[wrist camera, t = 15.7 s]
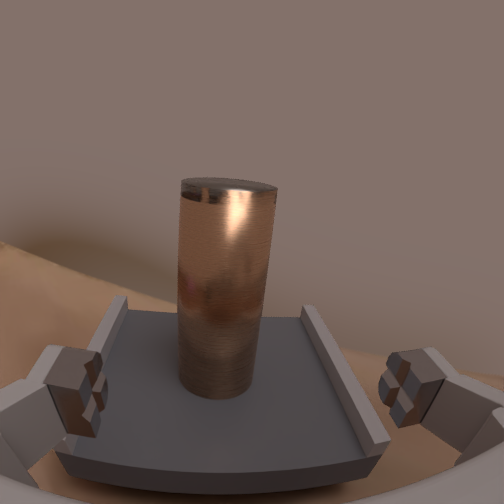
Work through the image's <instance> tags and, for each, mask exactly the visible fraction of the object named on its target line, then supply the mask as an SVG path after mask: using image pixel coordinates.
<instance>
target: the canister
mask: <svg viewBox="0 0 504 504" xmlns="http://www.w3.org/2000/svg"><path fill="white" fill-rule="evenodd" d="M277 190H278V189H277V188H276V187H274V186H271V185H268V184H264V183H259V182H253V181H247V180H239V179H228V178H188V179H184V180H182V184H181V199H180V219H179V243H178V245H179V246H178V292H177V293H178V294H177V297H178V298H177V301H178V303H177V320H178V368H179V379H180V382H181V383H182V385H183V386H184V387H185V388H186V389H187V390H188V391H189V392H191V393H192V394H194V395H196V396H199V397H202V398H205V399H211V400H226V399H231V398H234V397H237V396H239V395H241V394H243V393H244V392H246V391H247V390H248V389H249V387H250V386H251V384H252V380H253V373H254V366H255V359H256V352H257V345H258V338H259V331H260V323H261V316H262V309H263V301H264V293H265V286H266V278H267V271H268V263H269V262H268V261H269V255H270V247H271V239H272V231H273V223H274V215H275V207H276V198H277Z"/></svg>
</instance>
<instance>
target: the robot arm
mask: <svg viewBox="0 0 504 504" xmlns="http://www.w3.org/2000/svg"><path fill="white" fill-rule="evenodd" d="M386 365H387V367H388V369H387V370H386V371H385V372H384V373H383V374H382V375H381V378H380V381H379V391H378V392H379V396H380V399H381V400H382V402H383V404H385V405H387V406H388V407H390V413H389V414H390V415H391V417H392V419H393V420H394V422H395V424H396V425H397V427H398V428H402V427H407V426H411V425H415V424H419V423H421V424H420V425H422V426H423V427H425V428H426V429H427V430H429V431H430V432H432V433H433V434H435V435H436V436H437V437H439V438H440V439H442V440H443V441H445V442H446V443H448V444H449V445H451V446H452V447H454V448H455V449H456V450H458V451H459V452H461V453H462V454H461V455H460V457H459V458H458V459H457V460H456V462H455V464H454V467H452V468H450V469H448V470H445V471H443V472H441V473H438V474H436V475H433V476H431V477H428V478H426V479H423V480H420V481H418V482H415V483H412V484H409V485H406V486H403V487H400V488H397V489H394V490H391V491H388V492H384V493H381V494H378V495H374V496H370V497H367V498H363V499H359V500H355V501H350V502H346V503H342V504H504V392H503V391H501V390H498V389H496V388H494V387H491V386H489V385H487V384H485V383H482V382H480V381H478V380H475V379H473V378H471V377H468V376H466V375H464V374H462V375H460V374H459V373H458V372H457V371H456V370H455V369H454V368H453V367H452V366H451V365H450V363H449V362H447V360H446V359H445V358H444V357H443V356H442V355H441V354H440V353H439V352H438V351H437V350H436V349H435V348H433V347H426V348H420V349H416V350H410V351H402V352H394V353H392V354H391V355H390V356H389V357H388V360H387V362H386ZM102 366H103V361H102V357H101V354H100V353H99V352H97V351H90V350H84V349H77V348H71V347H64V346H59V345H53V344H50V345H48V346H47V347H46V348H45V349H44V351H43V353H42V354H41V356H40V357H39V359H38V360H37V362H36V363H35V365H34V366H33V368H32V370H31V371H30V373H29V374H28V376H27V377H26V379H25V380H24V379H19V380H17V381H15V382H13V383H11V384H9V385H7V386H6V387H4V388H2V389H0V504H92V503H88V502H83V501H79V500H75V499H71V498H68V497H64V496H61V495H57V494H54V493H51V492H47V491H44V490H41V489H39V487H38V485H37V483H36V482H35V481H34V479H33V478H32V477H31V475H30V474H29V473H28V472H27V470H28V469H29V468H31V467H32V466H33V465H34V464H35V463H36V462H37V461H39V460H40V459H41V458H42V457H43V456H44V455H46V454H47V453H48V452H49V451H50V450H51V449H52V448H54V447H55V446H56V445H57V444H58V443H59V442H60V441H62V440H63V439H64V438H65V437H66V436H67V435H68V434H73V435H79V436H84V437H90V438H96V437H97V434H98V431H99V427H100V424H101V421H102V420H101V417H100V414H99V413H100V412H101V411H103V410H104V409H105V407H106V404H107V399H108V383H107V379H106V376H105V375H104V374H103V373H102V372H101V369H102ZM67 433H68V434H67Z"/></svg>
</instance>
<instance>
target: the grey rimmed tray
mask: <svg viewBox="0 0 504 504" xmlns="http://www.w3.org/2000/svg"><path fill="white" fill-rule="evenodd" d="M86 350H90V351H97V352H99V353H100V354H101V357H102V361H103V366H102V369H101V372H102V373H103V374H104V375H105V376H106V379H107V383H108V399H107V404H106V407H105V409H104V410H103V411H101V412H100V413H99V414H100V417H101V420H102V421H101V424H100V427H99V431H98V434H97V437H96V438H90V437H84V436H79V435H73V434H68V433H67V434H68V435H67V436H66V437H65V438H64V439H63V440H62V441H60V442H59V443H58V444H57V445H56V446H55V447H54V448H53V449H54V450H55V452H56V454H57V456H58V458H59V459H60V461H61V463H62V464H63V466H64V468H65V469H66V471H67V473H68V474H69V475H70V476H74V477H78V478H82V479H86V480H91V481H95V482H100V483H105V484H111V485H116V486H122V487H129V488H136V489H143V490H152V491H161V492H173V493H188V494H253V493H269V492H281V491H290V490H299V489H307V488H314V487H320V486H326V485H332V484H337V483H343V482H348V481H352V480H357V479H361V478H366V477H367V476H368V475H369V474H370V472H371V471H372V469H373V468H374V466H375V465H376V463H377V462H378V460H379V459H380V457H381V456H382V454H383V453H384V451H385V450H386V448H387V446H388V445H389V443H390V442H391V438H390V437H389V435H388V433H387V431H386V429H385V428H384V426H383V424H382V422H381V420H380V419H379V417H378V415H377V413H376V412H375V410H374V408H373V406H372V404H371V403H370V401H369V399H368V397H367V396H366V394H365V392H364V390H363V389H362V387H361V385H360V383H359V382H358V380H357V378H356V376H355V375H354V373H353V371H352V369H351V368H350V366H349V364H348V362H347V361H346V359H345V357H344V356H343V354H342V352H341V350H340V349H339V347H338V345H337V344H336V342H335V340H334V339H333V337H332V335H331V333H330V332H329V330H328V328H327V327H326V325H325V323H324V321H323V320H322V318H321V316H320V315H319V313H318V311H317V310H316V308H315V306H314V305H303V306H302V311H301V316H300V318H298V317H296V318H294V317H261V323H260V331H259V338H258V345H257V352H256V359H255V366H254V373H253V380H252V384H251V386H250V387H249V389H248V390H247V391H246V392H244V393H243V394H241V395H239V396H237V397H234V398H231V399H226V400H211V399H205V398H202V397H199V396H196V395H194V394H192V393H191V392H189V391H188V390H187V389H186V388H185V387H184V386H183V385H182V383H181V382H180V379H179V368H178V320H177V313H167V312H153V311H140V310H129V309H128V303H127V296H119V295H116V296H115V297H114V299H113V301H112V303H111V305H110V306H109V308H108V310H107V312H106V314H105V315H104V317H103V319H102V321H101V323H100V325H99V326H98V328H97V330H96V332H95V334H94V336H93V338H92V340H91V342H90V344H89V346H88V348H87V349H86Z"/></svg>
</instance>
